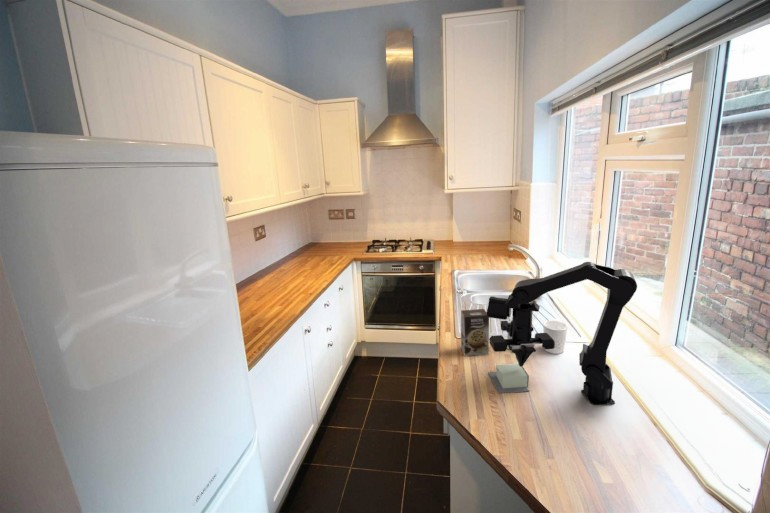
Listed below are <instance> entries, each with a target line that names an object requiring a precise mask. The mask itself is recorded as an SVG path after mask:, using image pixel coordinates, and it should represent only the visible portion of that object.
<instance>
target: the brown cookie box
mask: <svg viewBox="0 0 770 513" xmlns="http://www.w3.org/2000/svg"><path fill="white" fill-rule="evenodd" d="M460 327H461V328H460V335H461V336H460V349H461V352H462V353H463V355H464V357H470V356H471V357H472V356H483V355H484V356H485V355H486V356H487V355H489V348H490V347H489V346H490V343H489V339H490V336H489V335H490V318H489V317H487V310H486V309H485V308H479V309H464V310H463V309H462V310H460Z"/></svg>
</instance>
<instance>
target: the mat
mask: <svg viewBox="0 0 770 513" xmlns="http://www.w3.org/2000/svg"><path fill="white" fill-rule="evenodd" d="M488 375H489V378H490V379H491V382H492V384H493V386H494V388H495V390H496V391H497V394H511V393H515V394H517V393H529V391H530V390H529V389H528V387H517V388H502V386H501V384H500V382H499V380H498V378H497V376H496V371H488Z"/></svg>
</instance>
